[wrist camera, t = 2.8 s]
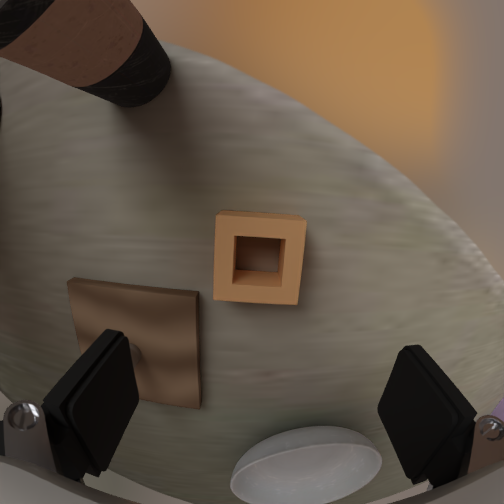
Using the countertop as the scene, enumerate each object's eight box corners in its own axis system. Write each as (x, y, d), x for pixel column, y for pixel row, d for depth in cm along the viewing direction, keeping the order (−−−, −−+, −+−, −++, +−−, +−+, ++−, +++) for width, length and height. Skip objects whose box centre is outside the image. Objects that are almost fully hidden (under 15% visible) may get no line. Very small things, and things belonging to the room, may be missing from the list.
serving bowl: (218, 471, 35) (215, 503, 29) (258, 393, 30) (259, 435, 24) (330, 481, 37) (336, 509, 30) (395, 410, 32) (412, 442, 25)
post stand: (73, 277, 27) (8, 319, 16) (198, 291, 27) (165, 358, 16) (95, 380, 31) (57, 436, 20) (201, 401, 31) (185, 474, 20)
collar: (221, 210, 25) (215, 215, 21) (299, 215, 25) (306, 221, 21) (219, 283, 27) (213, 299, 23) (291, 287, 27) (297, 304, 23)
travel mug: (179, 95, 23) (51, -29, 3) (109, 121, 23) (-56, 75, 4) (169, 35, 21) (79, -93, 2) (103, 61, 21) (-24, -15, 2)
